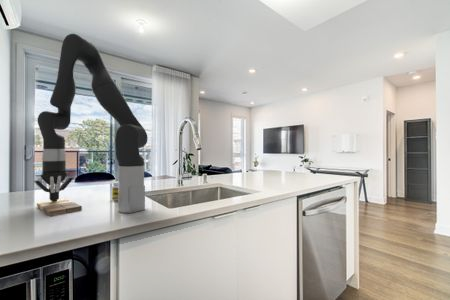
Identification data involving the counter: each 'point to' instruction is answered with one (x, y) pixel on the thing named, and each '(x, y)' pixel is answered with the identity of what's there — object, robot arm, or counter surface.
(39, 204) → the oak plank
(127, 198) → the robot arm
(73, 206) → the brown flat square block
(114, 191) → the supplement bottle
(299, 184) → the counter surface
